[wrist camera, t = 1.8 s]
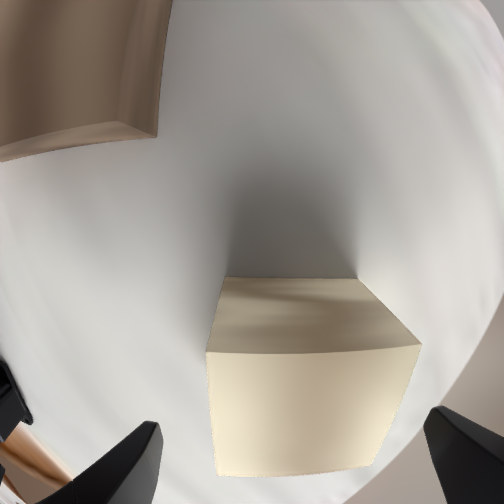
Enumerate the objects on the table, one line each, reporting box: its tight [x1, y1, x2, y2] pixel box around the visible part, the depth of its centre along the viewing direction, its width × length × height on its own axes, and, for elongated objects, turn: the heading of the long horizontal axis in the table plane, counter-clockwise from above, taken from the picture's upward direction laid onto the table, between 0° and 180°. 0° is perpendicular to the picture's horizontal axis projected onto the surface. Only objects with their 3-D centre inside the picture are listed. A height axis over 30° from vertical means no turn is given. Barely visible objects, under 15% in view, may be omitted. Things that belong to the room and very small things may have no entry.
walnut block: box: [0, 0, 172, 162], centre depth 8 cm, size 10×10×4 cm
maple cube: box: [206, 277, 422, 477], centre depth 11 cm, size 6×6×6 cm
